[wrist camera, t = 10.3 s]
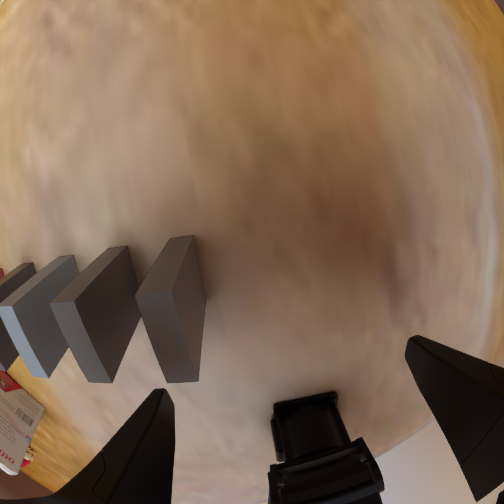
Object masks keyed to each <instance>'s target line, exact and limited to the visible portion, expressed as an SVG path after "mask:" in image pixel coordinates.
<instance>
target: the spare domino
mask: <svg viewBox="0 0 504 504" xmlns="http://www.w3.org/2000/svg"><path fill="white" fill-rule="evenodd" d="M78 275H79V272H78V269H77V265H76V262H75V258H74V255H69V256H63V257H58V258H57V259H55V260H54V261H52V262H51V263H50V264H48V265H47V266H46V267H44V268H43V269H42V270H40V271H39V272H38V273H37V274H35V275H34V276H33V277H31V278H30V279H29V280H28V281H26V282H25V283H24V284H23V285H21V286H20V287H19V288H18V289H17V290H15V291H14V292H13V293H12V294H11V295H9V296H8V297H7V298H6V299H5V300H4V301H2V302H1V303H0V316H1V318H2V320H3V323H4V325H5V327H6V329H7V331H8V333H9V335H10V337H11V339H12V341H13V343H14V345H15V347H16V349H17V351H18V352H19V354H20V356H21V358H22V360H23V361H24V363H25V365H26V367H27V368H28V370H29V372H30V373H31V375H32V376H34V377H41V378H48V379H49V378H50V376H51V374H52V373H53V371H54V369H55V368H56V366H57V365H58V363H59V361H60V360H61V358H62V357H63V355H64V354H65V352H66V351H67V349H68V348H69V346H68V344H67V341H66V339H65V337H64V335H63V333H62V331H61V329H60V327H59V324H58V322H57V320H56V318H55V315H54V313H53V311H52V308H51V306H50V302H51V301H52V300H53V299H54V298H55V297H56V296H57V295H58V294H59V293H60V292H61V291H62V290H63V289H64V288H65V287H66V286H67V285H68V284H69V283H70V282H72V281H73V280H74V279H75V278H76V277H77V276H78Z"/></svg>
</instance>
